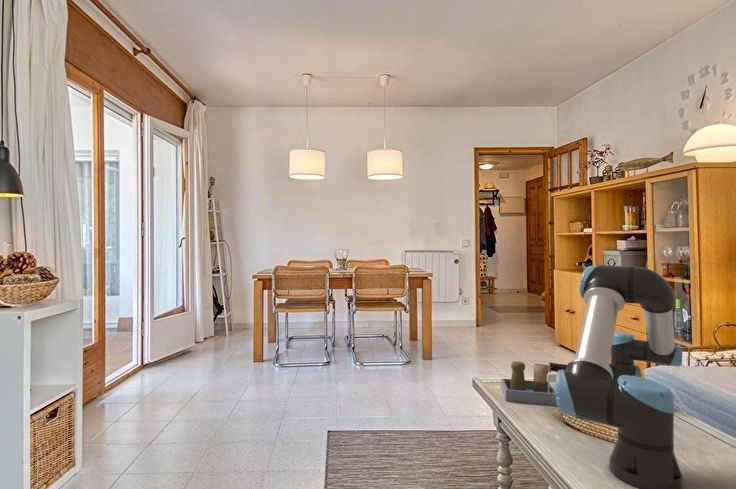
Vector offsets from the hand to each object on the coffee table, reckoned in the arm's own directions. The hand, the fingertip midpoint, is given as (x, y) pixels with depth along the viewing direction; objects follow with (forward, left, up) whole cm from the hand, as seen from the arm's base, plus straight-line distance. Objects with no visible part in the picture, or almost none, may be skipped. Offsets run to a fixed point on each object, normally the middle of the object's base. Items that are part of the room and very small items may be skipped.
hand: (539, 372), depth 160 cm
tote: (0, +4, -9) cm, 10 cm away
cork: (+3, +7, -9) cm, 12 cm away
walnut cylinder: (0, 0, -8) cm, 8 cm away
